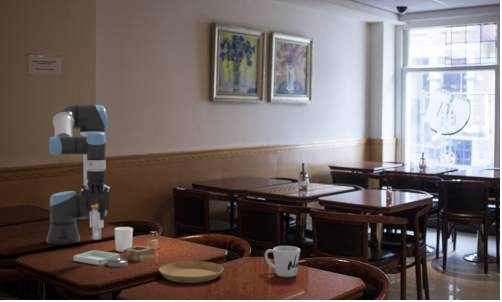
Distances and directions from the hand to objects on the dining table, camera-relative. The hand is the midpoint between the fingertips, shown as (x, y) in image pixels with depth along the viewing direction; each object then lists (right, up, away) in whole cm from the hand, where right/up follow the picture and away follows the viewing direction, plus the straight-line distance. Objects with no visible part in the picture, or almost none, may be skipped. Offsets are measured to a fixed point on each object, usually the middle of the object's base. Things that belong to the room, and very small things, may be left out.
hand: (96, 227), depth 256 cm
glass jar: (0, -5, 0) cm, 5 cm away
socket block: (+16, -14, +5) cm, 22 cm away
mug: (+75, -16, -16) cm, 78 cm away
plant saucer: (+41, -17, -21) cm, 49 cm away
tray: (0, -14, +1) cm, 14 cm away
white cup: (+7, -13, +20) cm, 25 cm away
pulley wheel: (+10, -15, -7) cm, 19 cm away
